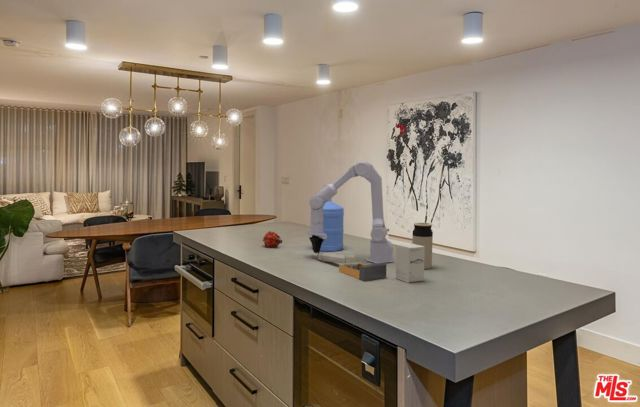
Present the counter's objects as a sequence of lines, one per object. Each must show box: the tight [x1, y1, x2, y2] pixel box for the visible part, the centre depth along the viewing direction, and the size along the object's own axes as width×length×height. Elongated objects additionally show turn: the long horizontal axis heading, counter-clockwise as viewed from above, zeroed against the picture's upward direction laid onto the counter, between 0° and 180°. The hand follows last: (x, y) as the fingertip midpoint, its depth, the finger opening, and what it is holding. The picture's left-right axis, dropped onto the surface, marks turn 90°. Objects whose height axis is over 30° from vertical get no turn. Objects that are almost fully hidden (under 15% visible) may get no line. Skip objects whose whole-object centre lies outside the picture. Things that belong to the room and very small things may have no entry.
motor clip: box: [338, 262, 387, 282], centre depth 165 cm, size 10×17×5 cm, turn 30°
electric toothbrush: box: [316, 251, 359, 271], centre depth 180 cm, size 5×7×25 cm
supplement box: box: [395, 243, 425, 284], centre depth 157 cm, size 7×7×13 cm
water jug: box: [311, 198, 345, 253], centre depth 216 cm, size 16×16×28 cm
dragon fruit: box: [262, 230, 283, 249], centre depth 221 cm, size 8×8×12 cm
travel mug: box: [411, 222, 434, 270], centre depth 177 cm, size 8×8×18 cm
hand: (316, 252), depth 194 cm, fingers closed
